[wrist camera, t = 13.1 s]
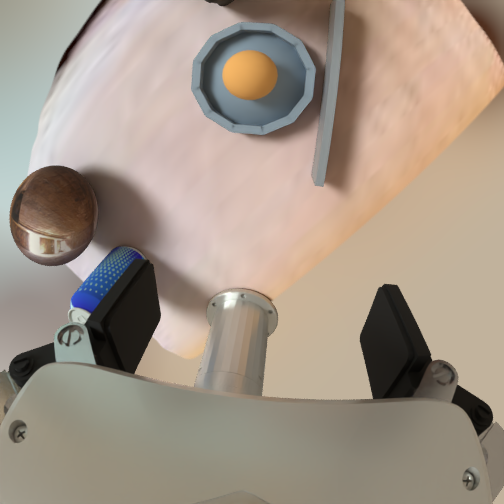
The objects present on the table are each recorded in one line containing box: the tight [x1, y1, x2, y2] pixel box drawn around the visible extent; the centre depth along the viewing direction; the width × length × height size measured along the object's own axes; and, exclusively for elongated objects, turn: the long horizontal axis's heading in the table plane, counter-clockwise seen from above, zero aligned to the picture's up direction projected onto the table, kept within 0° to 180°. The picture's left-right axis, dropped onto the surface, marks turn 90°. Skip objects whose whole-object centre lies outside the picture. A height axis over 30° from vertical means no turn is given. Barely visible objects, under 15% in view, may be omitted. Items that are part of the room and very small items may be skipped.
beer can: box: [68, 246, 147, 325], centre depth 39 cm, size 8×8×16 cm
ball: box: [222, 50, 278, 100], centre depth 26 cm, size 6×6×6 cm
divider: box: [312, 0, 345, 187], centre depth 27 cm, size 24×1×4 cm, turn 176°
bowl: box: [191, 22, 316, 135], centre depth 28 cm, size 14×14×2 cm
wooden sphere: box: [10, 166, 98, 266], centre depth 34 cm, size 15×15×15 cm
